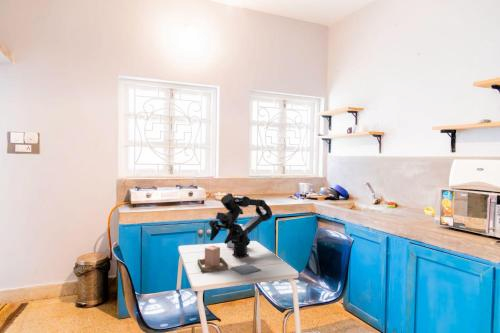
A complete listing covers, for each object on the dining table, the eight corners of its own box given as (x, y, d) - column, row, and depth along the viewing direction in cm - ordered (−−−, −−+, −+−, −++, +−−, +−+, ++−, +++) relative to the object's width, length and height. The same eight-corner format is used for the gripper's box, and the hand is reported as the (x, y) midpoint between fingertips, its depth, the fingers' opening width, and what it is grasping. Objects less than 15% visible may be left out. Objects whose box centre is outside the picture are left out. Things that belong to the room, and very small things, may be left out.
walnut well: (222, 261, 158) (222, 257, 158) (228, 269, 146) (228, 265, 146) (197, 263, 154) (197, 259, 154) (201, 272, 142) (201, 267, 142)
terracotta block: (212, 264, 154) (212, 245, 153) (219, 266, 151) (219, 247, 150) (204, 266, 149) (204, 247, 149) (212, 269, 147) (212, 249, 146)
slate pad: (247, 264, 153) (247, 263, 153) (261, 270, 145) (261, 269, 145) (230, 268, 147) (230, 267, 147) (243, 275, 139) (243, 273, 139)
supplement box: (236, 248, 180) (237, 226, 180) (226, 246, 184) (226, 225, 184) (244, 245, 186) (244, 224, 186) (233, 244, 190) (233, 223, 190)
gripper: (211, 204, 162) (195, 229, 153) (240, 207, 151) (224, 235, 143) (221, 217, 169) (206, 242, 160) (249, 221, 158) (235, 248, 149)
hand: (217, 241), depth 153 cm, fingers open, 9 cm apart
